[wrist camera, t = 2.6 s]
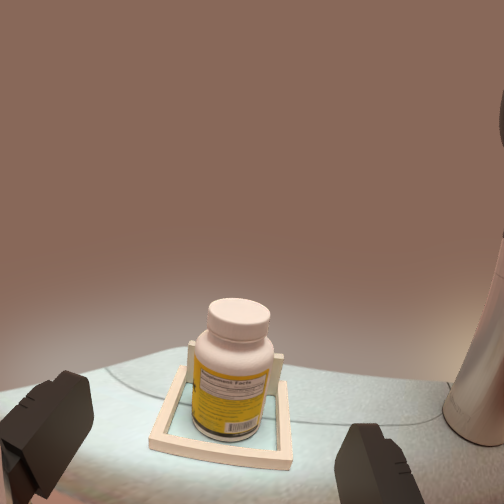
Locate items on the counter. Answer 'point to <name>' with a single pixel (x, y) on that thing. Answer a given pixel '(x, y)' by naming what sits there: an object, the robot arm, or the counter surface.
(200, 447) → the beige open frame
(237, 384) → the supplement bottle
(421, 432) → the counter surface
